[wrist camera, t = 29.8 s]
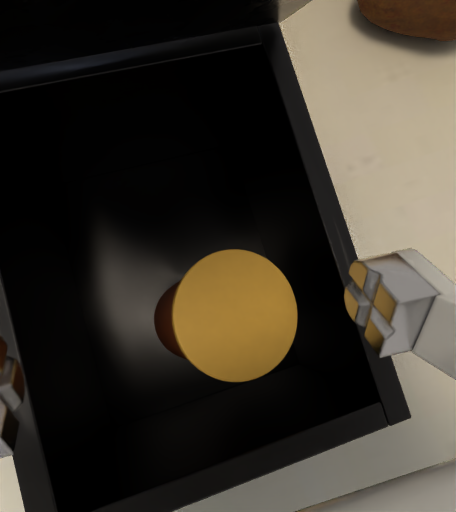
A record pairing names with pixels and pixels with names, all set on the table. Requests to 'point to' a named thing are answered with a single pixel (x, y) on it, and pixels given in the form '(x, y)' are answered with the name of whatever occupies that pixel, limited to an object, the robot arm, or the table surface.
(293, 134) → the black hinged chest
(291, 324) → the brown jar with lid
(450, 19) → the potato
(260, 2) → the black box lid
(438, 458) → the table surface
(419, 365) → the table surface
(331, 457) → the table surface
